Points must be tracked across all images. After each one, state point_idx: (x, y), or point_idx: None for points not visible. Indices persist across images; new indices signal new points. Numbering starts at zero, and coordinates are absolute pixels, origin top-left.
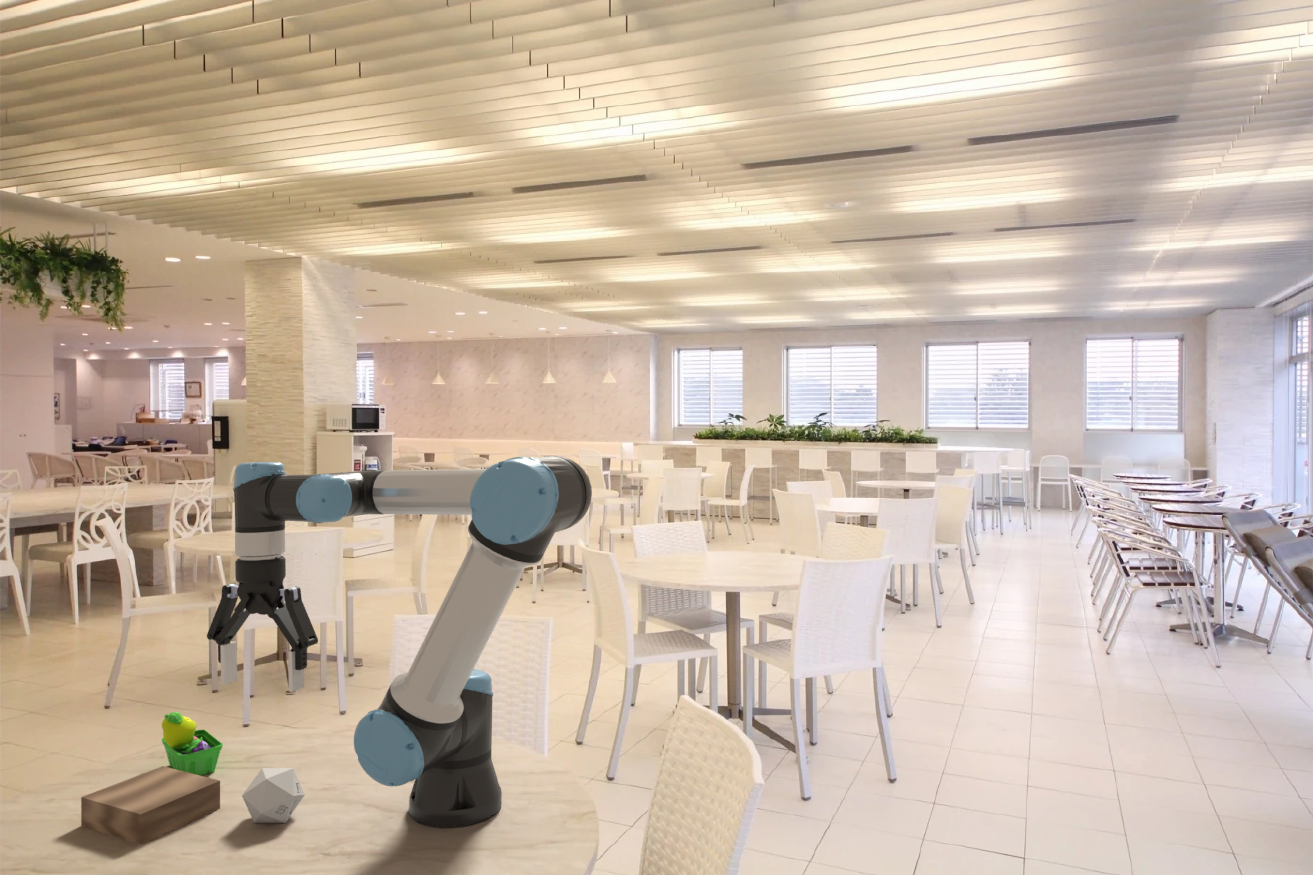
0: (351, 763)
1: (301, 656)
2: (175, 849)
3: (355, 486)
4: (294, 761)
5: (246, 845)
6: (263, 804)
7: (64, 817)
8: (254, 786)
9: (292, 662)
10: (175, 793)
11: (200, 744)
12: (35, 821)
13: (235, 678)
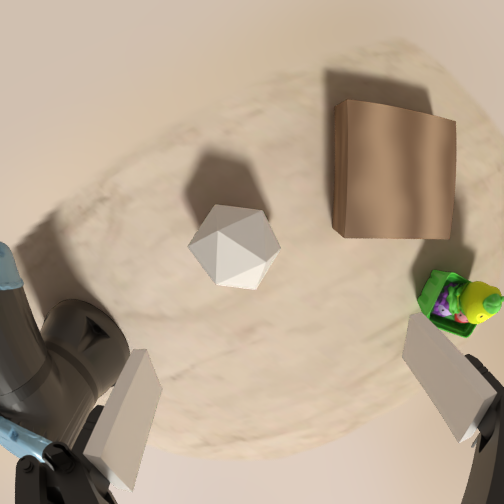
0: (278, 388)
1: (76, 441)
2: (280, 114)
3: None
4: (348, 364)
5: (203, 164)
6: (214, 211)
7: (463, 136)
8: (241, 221)
9: (99, 419)
10: (366, 173)
11: (446, 304)
12: (474, 120)
13: (406, 357)
